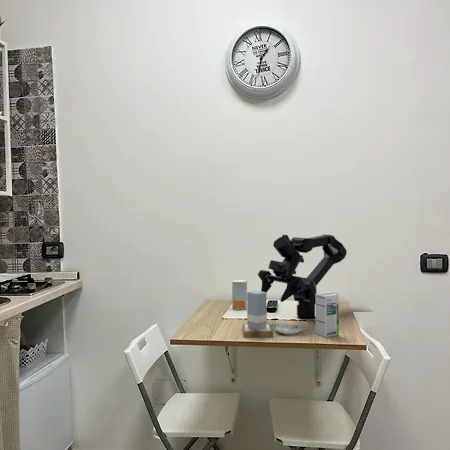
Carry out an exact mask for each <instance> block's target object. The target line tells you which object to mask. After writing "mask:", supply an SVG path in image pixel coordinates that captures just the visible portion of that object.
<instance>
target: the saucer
mask: <svg viewBox="0 0 450 450" xmlns="http://www.w3.org/2000/svg"><path fill="white" fill-rule="evenodd" d="M275 331H276V332H277V333H280V334H283V335H295V334H299V333H301V332H302V327H301V326H299V325H296V324H295V325H294V324H280V325H277V326H276V327H275Z"/></svg>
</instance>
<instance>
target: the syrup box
mask: <svg viewBox="0 0 450 450" xmlns="http://www.w3.org/2000/svg"><path fill="white" fill-rule="evenodd" d="M316 293H317V292H316ZM339 305H340V303H339V294H338V293H336V292H332V291H331V292H330V291H326V292H319V293H317V294H315V317H316V319H315V334H316V335H318V336H320V337H322V338H330V337H335V336H339V332H340V329H339V323H340V322H339V320H340V319H339V318H340V317H339V310H340V309H339V308H340V307H339Z"/></svg>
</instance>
